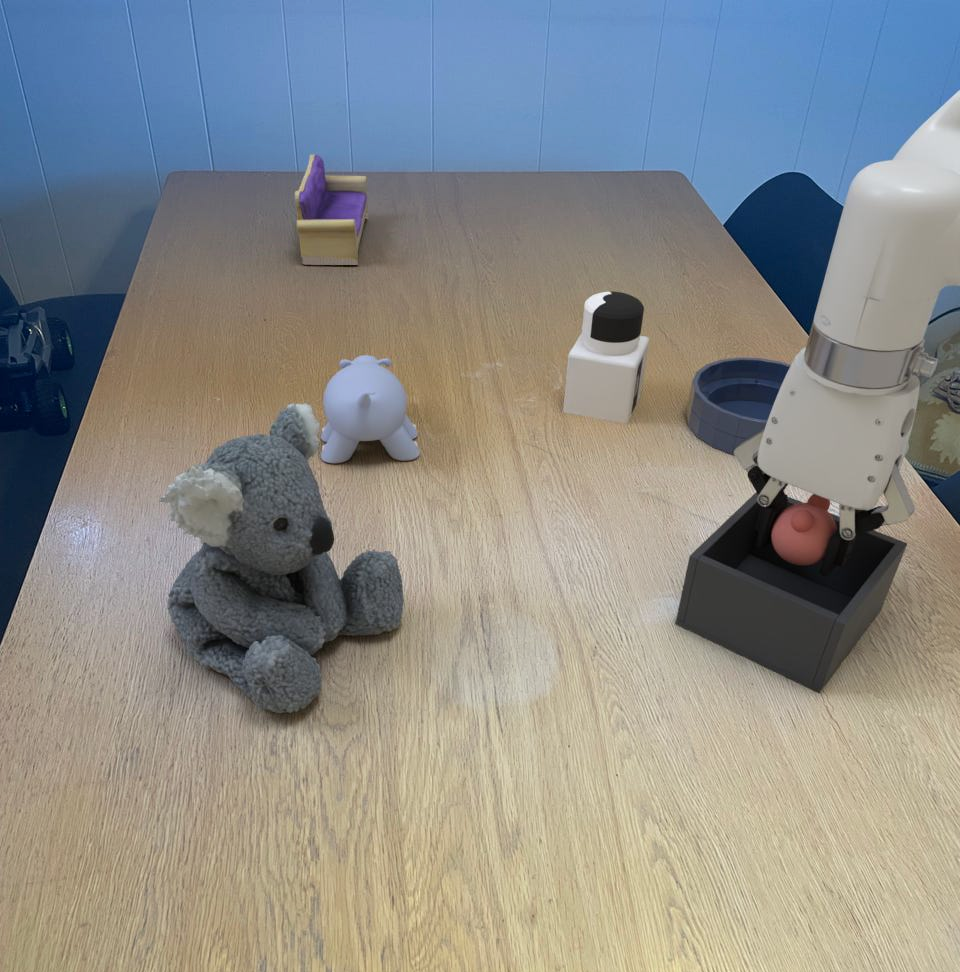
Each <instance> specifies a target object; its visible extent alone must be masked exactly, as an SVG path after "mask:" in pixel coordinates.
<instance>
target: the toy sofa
mask: <svg viewBox="0 0 960 972" xmlns="http://www.w3.org/2000/svg"><path fill="white" fill-rule="evenodd" d="M307 164H308V165H307V168H306V170H305V173H304V176H303V178H302V180H301V184H300V186H299V189H298V190H295V192H294V204H295V208H296V218H297V219H296V230H297V234H298V240H299V249H300V258H301V257H325V258H338V259H339V258H340V259H351V260H352V259H355V260H358V261H359V248H360V242H361V238H362V233H363V229H364V225H365V222H366V220H365V217H366V213H368V214H369V211H368V210H369V208H368V189H367V188H368V187H367V185H368V179H367V178H368V177H367V176H366V175H326V171H325V170H326V169H325V164H324V160H323V158H322V157H321V156H320V155H319V154H310V155H309V159H308V163H307Z"/></svg>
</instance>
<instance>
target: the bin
mask: <svg viewBox="0 0 960 972" xmlns="http://www.w3.org/2000/svg"><path fill="white" fill-rule="evenodd" d="M757 497H758V494H757V492H756V491H755V492H754V494H752V495H751V496H750V497H749V498H748V499H747V500H746V501H745V502H744V503H743V504H742V505H741V506H740V507H739V508H737V510H736V511H735V512H734V513H733V514H732V515H730V516H729V517H728V518H727V519H726V520H725V521H724V522H723V523H722V524H721V525H720V526H719V527H718V528H716V530H715V531H714V532H712V533H711V535H709V536H708V537H707V539H705V541H703V542H702V543H701V544H700V545H699V546H698V547H697V548H696V549H695V550H694V551H693V552H692V553H691V554H689V557H688V562H687V567H686V571H685V576H684V579H683V580H684V581H683V586H682V590H681V595H680V600H679V605H678V609H677V613H676V619H675V625H677V626H679V627H681V628H683V629H686V630H687V631H690V632H692V633H694V634H696V635H698V636H700V637H701V638H704V639H706V640H709V641H710V642H713V643H714V644H716V645H718V646H721V647H722V648H725V649H727V650H728V651H731V652H733V653H735V654H738V655H739V656H742V657H744V658H745V659H748V660H750V661H752V662H754V663H757V664H759V665H760V666H763V667H764V668H767V669H769V670H771V671H773V672H775V673H776V674H779V675H781V676H782V677H785V678H787V679H789V680H791V681H794V682H796V683H798V684H799V685H802V686H804V687H806V688H807V689H810V690H812V691H814V692H816V693H821V692H822V690H823V689H824V688H825V687H826V685H827V683H829V682H830V680H831V679H832V678H833V676H834V675H835V673H836V672H837V670H838V669H839V668H840V666H841V665H842V663H843V662H844V661H845V660H846V658H847V657H848V656H849V654H850V653H851V651H852V650H853V649H854V648H855V646H856V645H857V643H858V642H859V641H860V639H861V638H862V637H863V635H864V634H865V632H866V631H867V630H868V628H869V627H870V626H871V625H872V624H873V622H874V621H875V619H876V618H877V616H878V615H879V614H880V613H881V612H882V609H883V606H884V604H885V601H886V599H887V596H888V594H889V591H890V588H891V586H892V584H893V582H894V579H895V577H896V574H897V571H898V569H899V566H900V565H901V562H902V558H903V556H904V554H905V551H906V550H907V549H906V548H907V546H908V542H905V541H903V540H900V539H898V538H894V537H892V536H890V535H887V534H884V533H882V532H880V531H877V530H876V529H875V530H872V531H869V532H866V533H863V534H861V535H858V536H856V539H855V542H854V545H853V548H852V551H851V553H850V556H849V558H848V560H847V562H846V563H845V565H844V566H843V567H840V566H838V565H837V566H836V567H835V568H834V569H833V571H832V572H831V573H830V574H829V575H828V576H827V577H825V576H823V575H821V573H820V572H819V571H820V568H821V565H822V562H823V560H821V561H819V562H817V563H814V564H811V565H795V564H792V563H789V562H787V561H786V560H784V559H783V558H782V557H780V556H779V554H778V553H777V552H776V550H775V548H774V546H773V543H772V541H771V542H770V543H769V545H768V546H767V547H766V548H765V549H764V548H762V549H760V548H757V547H756V542H757V539H758V535H759V533H758V532H756V531H755V526H756V523H757V519H758V515H759V511H760V508H761V505H759V503H758V501H757ZM787 499H788V503H787V506H786V508H788V507H789V506H792V505H794V504H798V503H804V502H803V501H801V500H798V499H795V498H793V497H790V496H787ZM829 513H830V514H831V516H832V517H833V519H834V521H835V523H836V527H837V529H838V528H839V526H840V523H839V515H836V514H834V513H831V512H829Z"/></svg>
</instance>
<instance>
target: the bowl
mask: <svg viewBox="0 0 960 972" xmlns="http://www.w3.org/2000/svg"><path fill="white" fill-rule="evenodd" d="M790 366H791V364H790V363H786V362H783V361H779V360H773V359H768V358H762V357H743V356H742V357H732V358H722V359H718V360H715V361H713V362H709V363H706V364H705V365H703V366H702V367H701V368H699V369H698V370H697V371H696V372H695V374H694V375H693V378H692V381H691V386H690V391H689V397H688V402H687V407H686V413H685V419H686V422H687V426H688V428H689V430H690V431H691V432H692V433H693V435H695V436H696V438H697V439H699V440H701V441H702V442H704V443H705V444H707V445H709V446H710V447H711V448H713V449H716V450H718V451H722V452H724V453H726V454H729V455H732V456H735V455H734V450H735V449H736V448H737V447H738V446H739V445H740V444H741V443H742V442H744V441H746V440H747V439H749V438H750V437H752V436H754V435H755V434H757V433H758V432H760V431H761V430H763V429H765V427H766V424H767V421H768V418H769V415H770V413H771V410H772V407H773V405H774V402H775V400H776V397H777V395H778V392H779V390H780V388H781V385H782V383H783V381H784V378H785V376H786V374H787V372H788V370H789V368H790Z"/></svg>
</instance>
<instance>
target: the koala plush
mask: <svg viewBox="0 0 960 972" xmlns="http://www.w3.org/2000/svg"><path fill="white" fill-rule="evenodd" d="M320 427H321V424H320V422H318V420H317V419H316V416H315V415H314V410H313V408H312V404H308V403H307V402H305V403H296V404H295V402H294V401H292V403H290V404H288V405H286V407H284V408H282V409H280V410H279V414H278V416H277V417H276V418H275V421H273V424H272V425H271V426H270V429H269V432H268V433H269V435H268V434H263V433H257V434H254V435H253V434H252V435H251V434H248V435H246V436H243V435H242V436H240V437H235V438H232V439H228V440H227V442H224V443H223V444H221V445H219V446H217V447H216V448H214V449H213V452H212V453H211V454H210V455H209V457H208V458H207V460H206V461H205V463H201V464H199V465H195V464H194V465H193V466H190V467H189V468H188V469H187V471H184V472H183V473H181V474H179V475H178V476H175V480H174V483H172V484H169V485H168V486H167V488H168V491H166V493H165V494H164V495H163V496H161V497H160V500H159V501H158V503H164V505H166V504H169V507H168V508H169V509H168V510H169V515H168V517H169V520H170V521H171V522H175V523H176V524H177V527H176V528H177V529H181V530H183V531H182V534H183V535H187V534H188V535H192V536H193V538H195V539H196V538H198V539H199V540H200V544H201V545H202V546H201V547H200V549H199V550H197V551H196V552H195V554H193V555H192V556H191V558H190V559H189V560H188V561H187V562H186V564H185V566H184V568H182V569H181V572H180V573H179V574H178V576H177V577H176V579H175V580H174V581H173V583H172V586H171V589H169V593H168V597H169V598H168V599H167V606H168V607H167V610H168V614H169V616H170V620H171V622H172V623H173V625H174V627H175V630H176V633H178V635H179V638H180V640H181V641H183V643H185V645H186V648H185V650H186V651H187V652H188V653H189V656H190V657H193V660H194V661H196V662H199V665H201V667H204V668H206V669H208V668H211V669H212V670H213V671H216V672H217V673H220V674H224V675H226V676H227V677H229V679H230V681H231V682H232V683H233V684H234V685H235V686H236V687H237V688H238V689H239V690H241V693H243V694H244V696H245V697H247V698H248V699H249V698H250V700H251V702H253V703H254V704H255V705H256V706H258V708H260V709H262V710H265V711H269V712H272V713H277V714H284V713H289V714H291V713H293V712H299V711H300V710H304V709H305V708H307V706H308V705H310V704H311V703H312V702H313V700H315V698H316V697H318V696H319V695H320V692H321V691H322V681H323V674H321V667H320V663H318V662H317V659H316V657H312V656H314V655H315V653H317V652H318V651H319V650H320V649H322V648H323V645H324V643H326V644H327V643H328V642H333V640H334V639H336V638H337V637H338V636H344V635H345V636H346V637H349V636H351V637H356V636H367V635H370V636H373V635H375V636H377V635H380V634H382V633H384V632H388V633H390V632H392V631H394V630H396V629H397V628H399V627H400V623H401V622H402V615H403V610H404V603H405V602H404V601H405V599H404V587H403V579H402V574H401V569H400V568H399V562H398V561H399V560H398V559H397V558H396V556H394V555H393V554H392V551H390V550H383V551H376V549H372V550H370V549H367V550H366V551H365V552H361V553H360V554H358V555H356V556H355V557H354V559H352V560H351V563H350V564H349V565H347V567H346V569H345V570H343V574H342V577H341V578H339V575H338V572H337V570H336V567H335V564H334V563H333V560H332V558H331V557H330V555H329V553H328V552H330V550H332V548H333V546H334V543H335V535H334V530H333V522H332V519H330V517H329V516H328V514H327V510H326V509H325V505H324V502H323V498H322V494H321V493H320V485H319V482H318V480H317V479H316V477H315V475H314V473H313V469H312V468H311V466H310V461H309V460H310V459H311V458H312V457H314V456H315V454H316V453H318V452H319V446H320V442H321V441H322V439H320V438H318V434H319V433H320Z"/></svg>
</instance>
